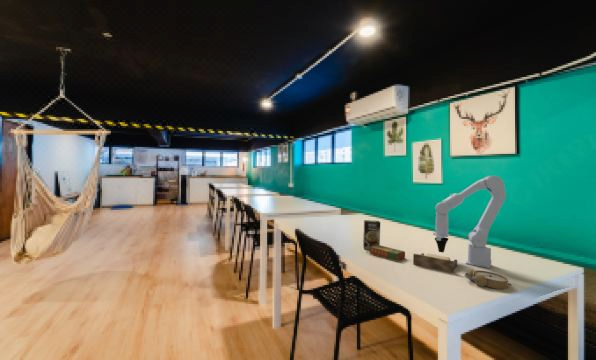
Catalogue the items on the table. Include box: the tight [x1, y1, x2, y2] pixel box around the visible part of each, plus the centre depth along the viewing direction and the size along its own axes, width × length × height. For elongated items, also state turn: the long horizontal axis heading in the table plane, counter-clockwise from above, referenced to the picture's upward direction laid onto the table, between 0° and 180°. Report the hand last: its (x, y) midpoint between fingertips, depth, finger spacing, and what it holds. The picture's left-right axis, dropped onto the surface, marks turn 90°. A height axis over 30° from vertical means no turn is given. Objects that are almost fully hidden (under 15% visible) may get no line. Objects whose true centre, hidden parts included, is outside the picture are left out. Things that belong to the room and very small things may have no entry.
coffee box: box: [362, 219, 381, 250], centre depth 157 cm, size 9×6×16 cm
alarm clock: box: [464, 268, 512, 290], centre depth 107 cm, size 11×5×15 cm
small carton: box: [424, 253, 451, 261], centre depth 129 cm, size 10×8×4 cm
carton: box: [369, 245, 406, 262], centre depth 142 cm, size 8×16×4 cm, turn 41°
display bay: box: [412, 252, 458, 274], centre depth 129 cm, size 17×14×5 cm
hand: (441, 251), depth 137 cm, fingers closed
